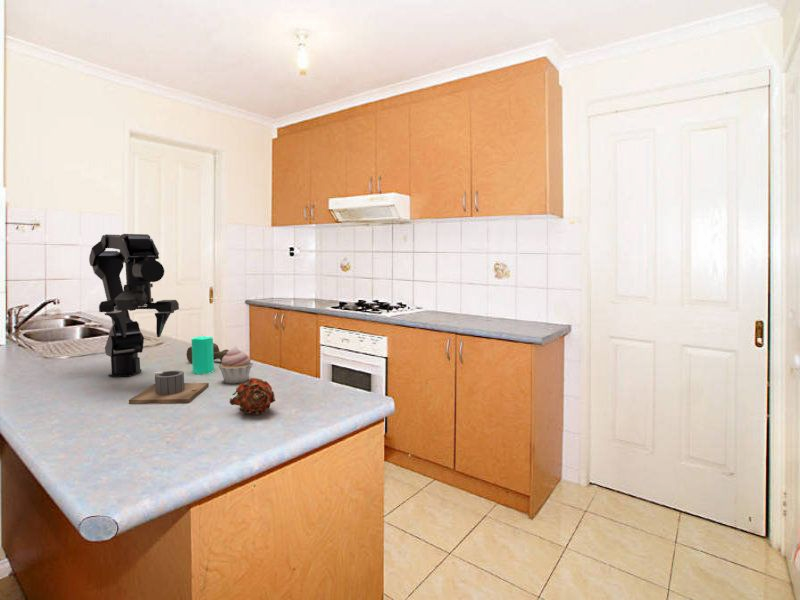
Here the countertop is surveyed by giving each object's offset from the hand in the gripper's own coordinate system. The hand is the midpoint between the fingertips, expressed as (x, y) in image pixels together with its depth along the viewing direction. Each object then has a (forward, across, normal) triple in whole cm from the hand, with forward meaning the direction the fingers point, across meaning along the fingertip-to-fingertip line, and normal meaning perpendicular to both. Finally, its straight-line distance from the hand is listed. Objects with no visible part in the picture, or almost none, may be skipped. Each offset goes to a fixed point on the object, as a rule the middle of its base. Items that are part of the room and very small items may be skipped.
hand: (141, 337), depth 127 cm
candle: (+13, +12, +12) cm, 21 cm away
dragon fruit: (+13, +36, -25) cm, 46 cm away
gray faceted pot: (+12, +12, -11) cm, 20 cm away
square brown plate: (+13, +12, -11) cm, 21 cm away
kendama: (+14, +10, +25) cm, 30 cm away
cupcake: (+13, +25, +1) cm, 28 cm away
